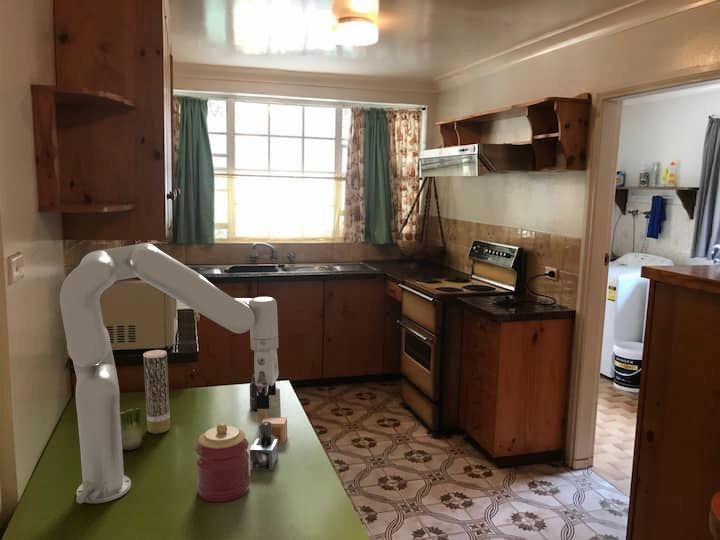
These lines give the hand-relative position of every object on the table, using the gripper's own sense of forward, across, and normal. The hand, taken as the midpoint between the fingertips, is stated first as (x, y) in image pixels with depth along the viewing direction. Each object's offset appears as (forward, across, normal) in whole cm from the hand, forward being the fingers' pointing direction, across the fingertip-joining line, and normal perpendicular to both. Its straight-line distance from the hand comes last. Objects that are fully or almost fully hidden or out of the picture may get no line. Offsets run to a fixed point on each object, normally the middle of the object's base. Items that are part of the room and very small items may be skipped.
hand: (267, 401), depth 161 cm
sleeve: (+17, -3, +1) cm, 17 cm away
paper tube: (+16, +17, +38) cm, 45 cm away
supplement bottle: (+17, +36, +10) cm, 41 cm away
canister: (+17, -17, +8) cm, 25 cm away
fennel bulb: (+16, +4, +41) cm, 44 cm away
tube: (+17, 0, +1) cm, 17 cm away
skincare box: (+17, +22, +4) cm, 28 cm away
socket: (+17, +12, +1) cm, 21 cm away
